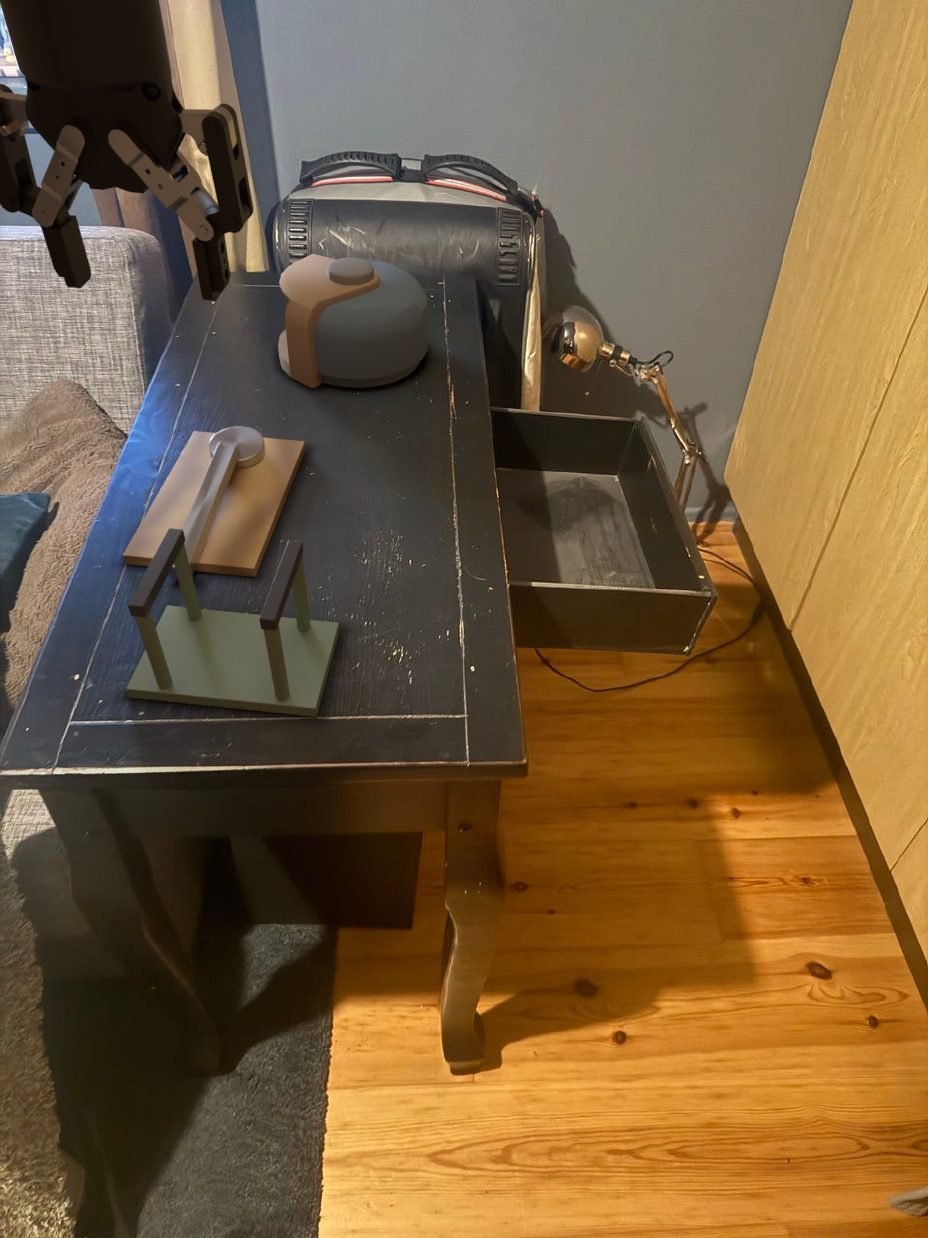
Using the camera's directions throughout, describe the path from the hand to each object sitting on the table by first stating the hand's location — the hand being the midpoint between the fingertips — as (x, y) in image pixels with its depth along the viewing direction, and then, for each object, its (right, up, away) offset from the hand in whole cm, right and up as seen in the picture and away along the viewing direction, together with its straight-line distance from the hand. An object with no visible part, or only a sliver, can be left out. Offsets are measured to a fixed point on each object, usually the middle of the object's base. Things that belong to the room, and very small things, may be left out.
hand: (147, 289), depth 51 cm
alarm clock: (+5, +15, +60) cm, 62 cm away
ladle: (-6, -9, +35) cm, 37 cm away
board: (-6, -8, +36) cm, 38 cm away
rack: (0, -25, +21) cm, 32 cm away
